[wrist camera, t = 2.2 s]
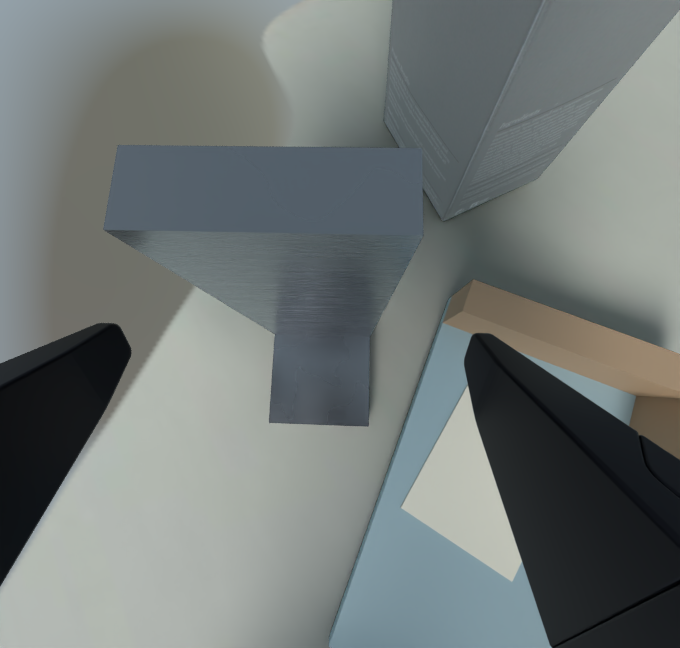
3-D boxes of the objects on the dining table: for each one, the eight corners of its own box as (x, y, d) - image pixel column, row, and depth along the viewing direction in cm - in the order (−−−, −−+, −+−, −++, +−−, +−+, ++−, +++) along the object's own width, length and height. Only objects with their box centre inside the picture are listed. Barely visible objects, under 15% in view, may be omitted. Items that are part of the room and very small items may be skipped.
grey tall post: (367, 423, 17) (428, 564, 4) (274, 419, 17) (49, 546, 4) (368, 313, 18) (422, 148, 5) (281, 311, 18) (118, 145, 5)
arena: (576, 755, 14) (652, 882, 11) (329, 635, 15) (323, 714, 12) (662, 378, 17) (746, 378, 13) (448, 298, 18) (473, 279, 14)
